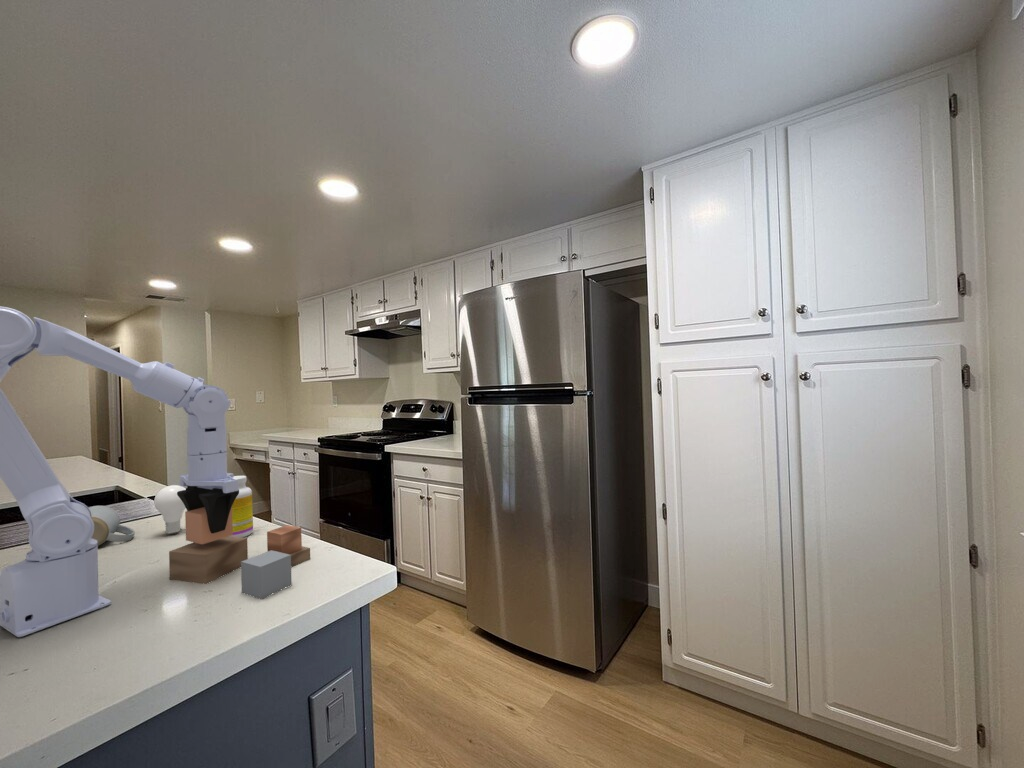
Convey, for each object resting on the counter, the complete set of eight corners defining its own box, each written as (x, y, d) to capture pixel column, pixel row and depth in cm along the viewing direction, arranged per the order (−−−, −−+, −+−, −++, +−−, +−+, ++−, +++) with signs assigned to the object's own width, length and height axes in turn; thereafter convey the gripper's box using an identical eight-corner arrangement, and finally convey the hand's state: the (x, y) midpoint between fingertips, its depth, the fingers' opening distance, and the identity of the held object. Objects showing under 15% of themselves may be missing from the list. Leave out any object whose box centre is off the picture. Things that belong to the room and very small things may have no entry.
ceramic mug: (59, 556, 84) (59, 517, 84) (73, 543, 91) (73, 508, 91) (130, 545, 90) (130, 508, 90) (138, 534, 97) (138, 500, 97)
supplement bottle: (260, 530, 96) (258, 474, 96) (238, 541, 89) (237, 480, 90) (232, 530, 97) (231, 474, 97) (209, 541, 90) (208, 481, 90)
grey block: (261, 599, 64) (260, 567, 64) (241, 593, 66) (240, 561, 66) (291, 585, 69) (290, 554, 69) (272, 579, 71) (271, 550, 71)
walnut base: (206, 585, 70) (205, 555, 70) (169, 580, 72) (169, 551, 72) (247, 565, 78) (247, 537, 78) (213, 561, 80) (213, 535, 80)
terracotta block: (202, 544, 72) (201, 514, 72) (185, 540, 74) (185, 511, 74) (232, 534, 76) (232, 507, 76) (216, 531, 78) (216, 504, 78)
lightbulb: (160, 532, 97) (159, 484, 97) (194, 527, 100) (192, 481, 100) (150, 541, 91) (149, 490, 91) (186, 535, 94) (185, 486, 94)
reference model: (280, 571, 74) (279, 537, 74) (259, 565, 77) (258, 532, 77) (310, 558, 79) (309, 526, 79) (289, 553, 82) (288, 522, 82)
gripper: (255, 451, 75) (256, 527, 75) (208, 447, 82) (210, 518, 82) (212, 457, 69) (214, 541, 69) (165, 453, 75) (167, 529, 75)
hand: (209, 529), depth 75 cm, fingers closed on terracotta block, 5 cm apart
